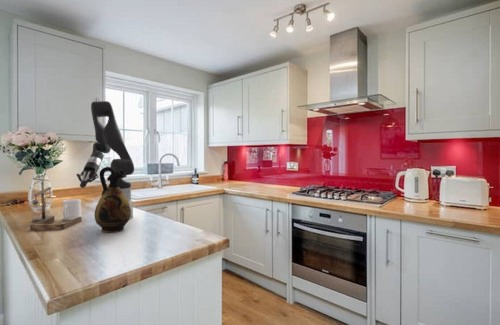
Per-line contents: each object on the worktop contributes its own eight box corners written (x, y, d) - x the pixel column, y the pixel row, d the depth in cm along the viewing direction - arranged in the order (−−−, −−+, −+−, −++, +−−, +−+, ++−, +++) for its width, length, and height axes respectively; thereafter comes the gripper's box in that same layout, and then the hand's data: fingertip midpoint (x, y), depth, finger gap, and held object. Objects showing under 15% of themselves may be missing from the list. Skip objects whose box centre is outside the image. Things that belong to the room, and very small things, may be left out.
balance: (59, 216, 151) (58, 186, 151) (38, 223, 135) (37, 190, 134) (48, 216, 151) (47, 186, 150) (26, 223, 135) (25, 190, 134)
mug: (71, 222, 138) (70, 202, 138) (55, 222, 138) (54, 203, 137) (84, 216, 150) (83, 198, 150) (69, 216, 150) (68, 198, 149)
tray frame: (81, 221, 140) (81, 216, 140) (63, 229, 125) (62, 224, 125) (52, 221, 139) (52, 217, 139) (30, 230, 124) (30, 224, 124)
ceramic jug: (137, 225, 132) (135, 166, 131) (121, 234, 117) (119, 167, 116) (103, 225, 132) (102, 166, 131) (83, 234, 117) (82, 167, 116)
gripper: (79, 161, 164) (67, 183, 152) (101, 161, 164) (91, 183, 153) (84, 169, 169) (73, 190, 157) (105, 169, 170) (96, 190, 158)
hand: (82, 187), depth 155 cm, fingers closed
